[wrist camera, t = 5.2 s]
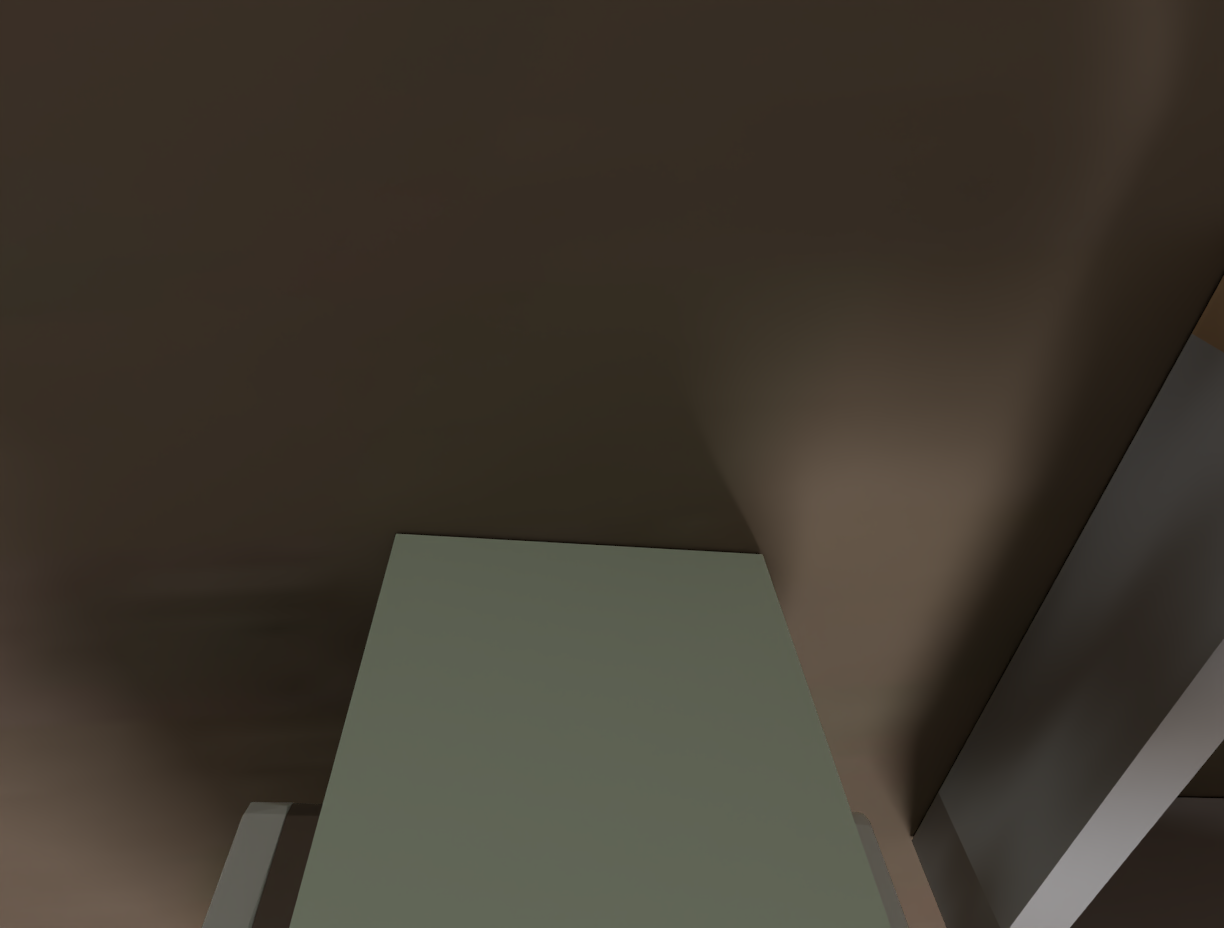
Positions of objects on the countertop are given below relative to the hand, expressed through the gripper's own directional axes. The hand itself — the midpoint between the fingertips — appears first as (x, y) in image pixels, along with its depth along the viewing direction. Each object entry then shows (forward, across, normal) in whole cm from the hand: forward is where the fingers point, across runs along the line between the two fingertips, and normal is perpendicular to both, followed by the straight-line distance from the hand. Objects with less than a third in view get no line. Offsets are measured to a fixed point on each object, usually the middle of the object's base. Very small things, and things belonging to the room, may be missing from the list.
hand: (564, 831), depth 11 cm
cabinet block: (+2, 0, 0) cm, 2 cm away
